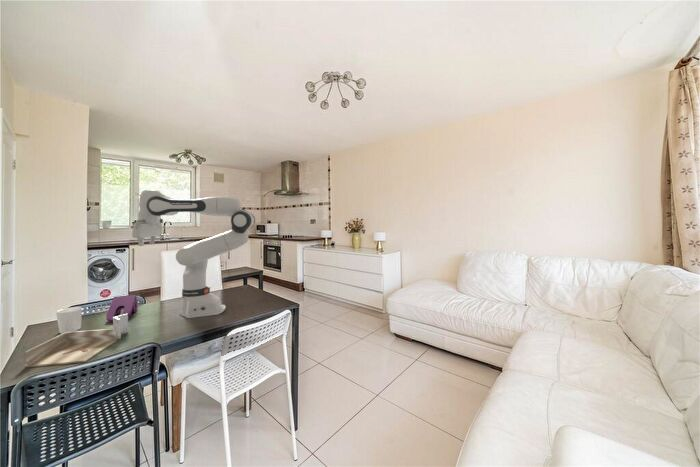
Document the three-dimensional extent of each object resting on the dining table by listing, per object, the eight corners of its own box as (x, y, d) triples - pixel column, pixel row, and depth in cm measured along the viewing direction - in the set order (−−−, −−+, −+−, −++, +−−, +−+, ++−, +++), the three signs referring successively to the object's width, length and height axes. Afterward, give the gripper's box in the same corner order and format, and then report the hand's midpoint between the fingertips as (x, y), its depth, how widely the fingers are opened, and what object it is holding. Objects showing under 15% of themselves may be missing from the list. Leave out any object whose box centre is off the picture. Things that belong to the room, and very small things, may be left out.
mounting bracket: (130, 329, 132) (138, 305, 146) (128, 318, 128) (136, 294, 142) (106, 333, 127) (116, 308, 141) (103, 321, 124) (114, 296, 137)
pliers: (95, 306, 145) (129, 301, 153) (95, 308, 145) (129, 304, 153) (89, 311, 137) (125, 306, 145) (89, 314, 137) (126, 309, 145)
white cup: (53, 335, 112) (52, 314, 111) (63, 328, 119) (62, 308, 118) (77, 332, 115) (76, 311, 115) (85, 325, 122) (84, 305, 122)
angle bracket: (113, 336, 112) (112, 317, 111) (127, 332, 116) (126, 313, 115) (118, 339, 109) (117, 319, 109) (132, 334, 114) (131, 315, 113)
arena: (116, 341, 108) (115, 328, 107) (85, 362, 92) (84, 347, 92) (66, 344, 104) (65, 331, 104) (25, 367, 88) (24, 352, 88)
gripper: (143, 220, 124) (141, 247, 125) (164, 220, 144) (163, 243, 145) (129, 219, 123) (126, 246, 124) (152, 218, 143) (150, 242, 144)
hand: (146, 244), depth 134 cm, fingers open, 8 cm apart
